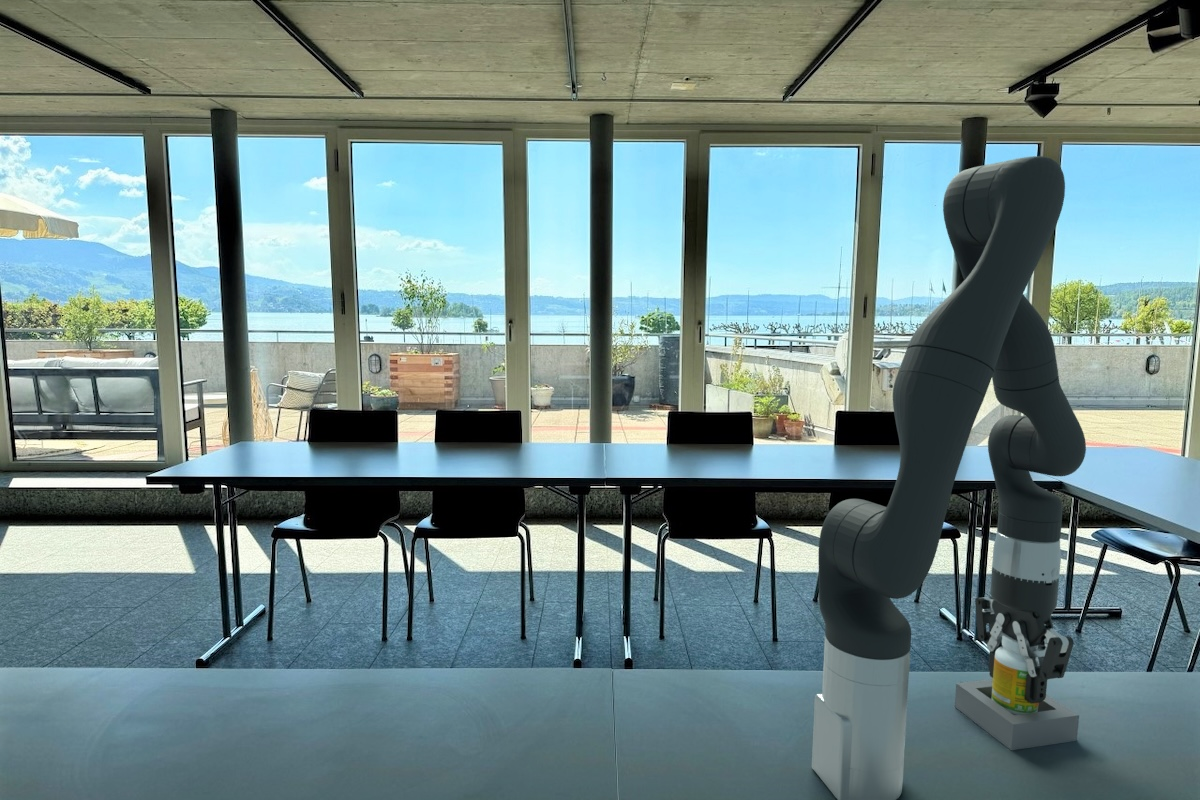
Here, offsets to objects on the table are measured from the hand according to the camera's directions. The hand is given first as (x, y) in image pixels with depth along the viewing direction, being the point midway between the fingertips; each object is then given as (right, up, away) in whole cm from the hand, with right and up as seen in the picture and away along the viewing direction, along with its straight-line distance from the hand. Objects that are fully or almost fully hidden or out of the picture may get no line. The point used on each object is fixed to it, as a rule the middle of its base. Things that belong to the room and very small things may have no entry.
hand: (1015, 688), depth 91 cm
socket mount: (0, -5, +1) cm, 5 cm away
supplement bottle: (0, -3, 0) cm, 3 cm away
